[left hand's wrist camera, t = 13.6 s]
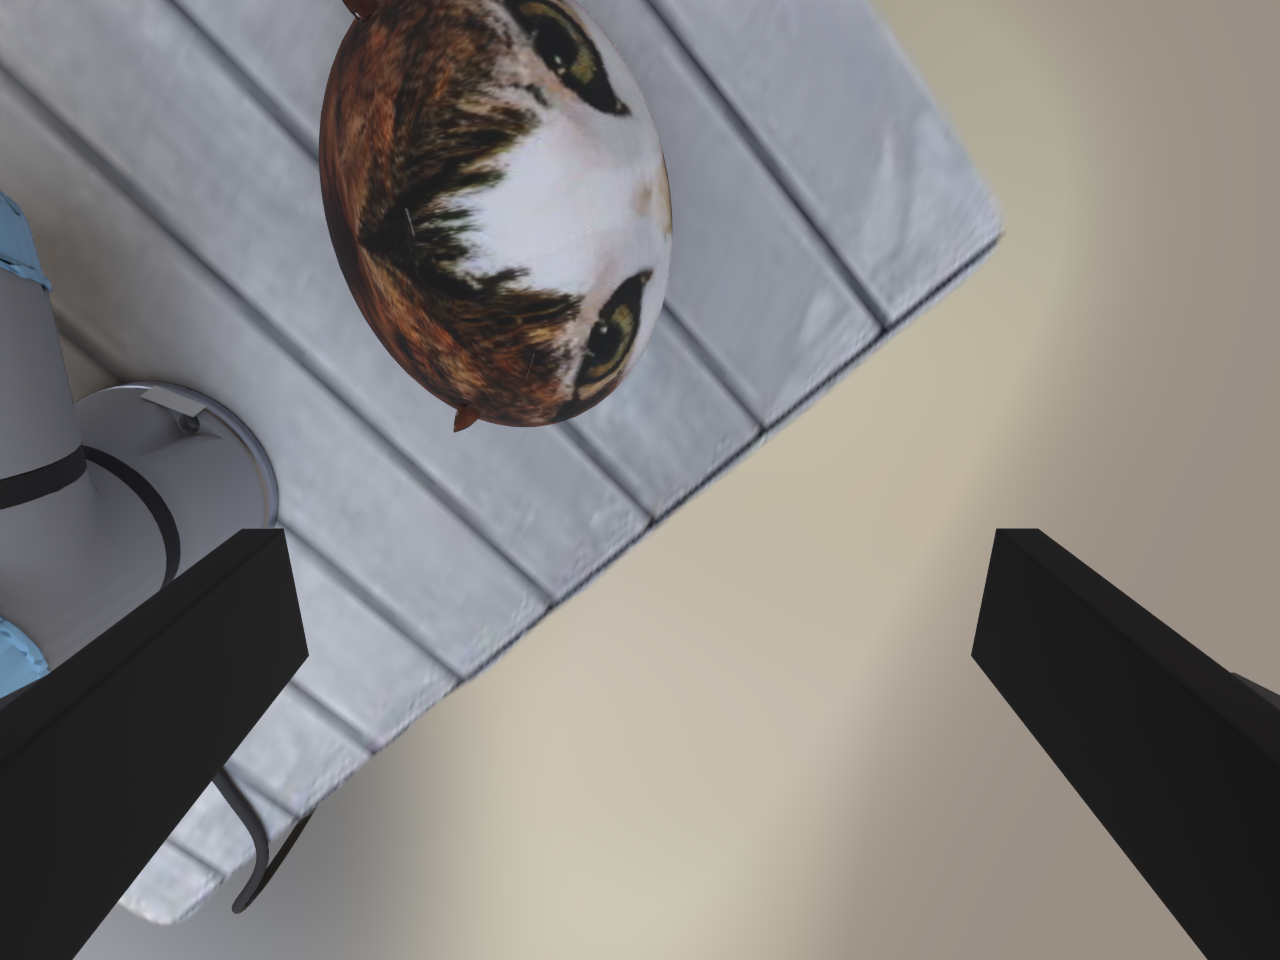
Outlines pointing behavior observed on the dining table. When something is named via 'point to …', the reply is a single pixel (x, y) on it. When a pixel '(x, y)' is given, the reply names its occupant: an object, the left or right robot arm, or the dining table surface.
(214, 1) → the dining table surface
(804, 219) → the dining table surface
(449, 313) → the cat face balloon
